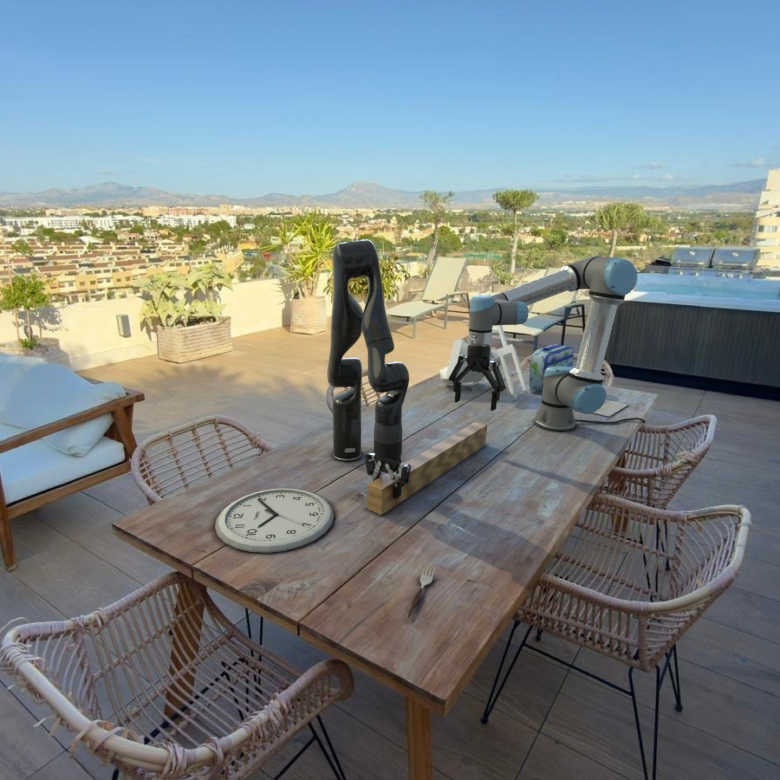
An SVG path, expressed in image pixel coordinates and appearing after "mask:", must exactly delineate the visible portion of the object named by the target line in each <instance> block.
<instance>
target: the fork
mask: <svg viewBox="0 0 780 780" xmlns="http://www.w3.org/2000/svg"><path fill="white" fill-rule="evenodd" d="M426 566H427V568H426ZM429 566H430V564H428V565H427V563H425V565H424V567H423V570H422V573H421V576H420V577H419V578H420V579H419V581H420V584H421V587H420V588H419V589H418V591H417V592H416V594H415V595H414V596H413V600H412V603H411V605H410V609H409V612H408V615H407V618H409V617H410V616H411V615H412V613H413V611H414V609H415V608H416V607H417V605H418V603H419V602H420V600H421V596H422V593H423V590H424V587H425V586H428V585H430V584H432V582H433V580H434V576H435V575H434V574H435V569H436V564H435V565H434V567H433V565H431V566H430V567H429ZM429 568H430V569H429ZM432 568H433V571H432ZM425 570H426V571H425ZM428 572H429V573H428Z"/></svg>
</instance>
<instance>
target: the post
mask: <svg viewBox="0 0 780 780" xmlns="http://www.w3.org/2000/svg"><path fill="white" fill-rule="evenodd" d="M487 430H488V424H486V423H481V422H478V421H474V422H473V423H471V424H469V425H467V426H466V427H464V428H462V429H461V430H459V431H457V432H455V433H453V434H452V435H450V436H449V437H447V438H445V439H443V440H441V441H440V442H438V443H436V444H435V445H433V446H431V447H430V448H428V449H426V450H425V451H422V452H421V453H419V454H418V455H416V456H414V457H413V458H411V459H409V460H407V461H406V462H403V464H406V465H408V464H410V465H411V470H410V476H409V482H408V484H406V485H405V486H403V487H402V491H401V496H400V497H398V498H397V499H395V498H393V487H394V483H393V480H392V479H390V476H389V474H387V473H385V474H383V475H381V476H380V478H378V479H376V480H375V481H373V480H372V481H371V482H369V483H368V484H367V510H368V511H371V512H373V513H375V514H378V515H381V516H382V515H384V514H385V513H387V512H388V511H390V510H392V509H393V508H394V507H396V506H397V505H399V504H401V503H402V502H403V501H406V499H408V498H409V497H411V496H412V495H413V494H416V492H418V491H419V490H422V488H424V487H425V486H427V485H429V484H430V483H432V482H433V481H434V480H436V479H437V478H439V477H440V476H442V475H443V474H444V473H446V472H448V471H450V469H451V470H452V469H453V468H454V467H455V466H456V465H458V464H460V463H461V462H463V461H464V460H466V459H467V458H468V457H470V456H472V455H473V454H475V453H476V452H478V450H481V448H482V449H483V447H485V446H486V443H487V432H488V431H487ZM399 468H400V467H399ZM400 470H401V468H400ZM394 474H396V472H395V473H394ZM397 481H398V480H397Z"/></svg>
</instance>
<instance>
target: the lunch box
mask: <svg viewBox="0 0 780 780" xmlns="http://www.w3.org/2000/svg"><path fill="white" fill-rule="evenodd" d="M530 359H531V360H530V366H529V377H528V379H529V380H528V387H529V390H531V391H536V392H541V393H542V392H543V382H544V374H545V370H546V369H547V368H549V367H556V366H563V367H573V363H574V347H572V346H568V345H562V344H551V345H547V346H545V347H541V348H539V349H536V350H534V352H533V353H532V355H531V358H530Z"/></svg>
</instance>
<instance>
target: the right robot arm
mask: <svg viewBox="0 0 780 780" xmlns="http://www.w3.org/2000/svg"><path fill="white" fill-rule="evenodd" d="M637 282H638V271H637V268H636V267H635V265H634V263H633V262H631V261H630V260H628V259H626V258H621V257H616V256H615V257H612V256H610V257H609V256H600V255H599V256H598V255H594V256H589V257H586V258H583V259H579V260H577V261H575V262H572V263H569V264H567V265H563V266H562V268H561V269H560V270H558V271H555V272H554V273H550V274H548V275H545V276H542V277H540V278H537V279H534V280H531V281H529V282H526V283H523V284H521V285H518V286H516V287H513V288H510V289H507V290H505V291H502V292H499V293H496V294H494V295H490V294H488V295H487V294H486V295H474V296H472V297H471V299H470V304H469V309H468V311H469V317H468V318H469V319H468V334H467V336H468V337H467V345H468V347H467V357H465V355H461V356H459V357H458V362H457V364H456V366H455V367H454V369H453V371H452V373H451V375H450V376H449V380H450V381H452V382H453V383H454V384H452V386H453V388H452V392H453V393H454V403H456V404H457V403H458V402H460V401H461V399H462V397H461V396H462V383H461V382H459V381H460V380H461V379H462V378H463V377H464V376H465V375H466V374H467V373H468V372H469V371H470V370H472V371H473V372H475V371H476V372H479V373H481V372H482V373H483V375H485V377H484V378H486V381H487V382H488V383H489V385H490V386H491V388H492V389H493V390H492V391H491V399H490V411H491V412H494V411H495V410H497V405H498V402H499V401H500V398H501V392H503V391H505V390H507V386H506V383H505V381H504V378H503V375H502V372H501V370H500V366H499V362H498V361H490V351H491V348H492V346H491V344H492V335H493V334H492V333H493V326H494V327H495V326H497V325H502V326H518V325H524V324H525V323H526V322H527V321H528V319H529V312H530V311H529V307H528V306H530V305H533V304H536V303H538V302H540V301H541V302H542V301H543V300H546V299H549V298H551V297H554V296H557V295H560V294H562V293H566V292H569V293H572V292H576V291H579V290H588V295H587V296H588V297H589V299H590V301H591V302H590V306H589V310H588V314H587V318H586V322H585V326H584V330H583V334H582V338H581V342H580V347H579V351H578V356H577V359H576V363H575V367H573V366H572V367H563V366H556V367H549V368H547V369H546V370H545V374H544V382H543V392H541V393H542V394H541V402H540V405H539V407H538V410H537V411H536V413H535V417H534V424H535V425H536V426H537V427H539V428H542V429H544V430H549V431H556V432H567V431H572V430H574V429H575V428H576V422H577V423H588V424H589V423H591V424H604V425H605V424H607V425H612V424H619V423H621V422H625V421H641V422H643V423H647V422H646V421H645V420H644V419H643V418H641V417H630V418H629V417H628V418H622V419H619V420H616V421H601V420H585V419H576V418H575V417H576V416H575V413H574V412H577V413H580V414H583V415H590V414H595V413H594V412H595V411H596V410H598V409H600V408H601V407H602V405H603V404H604V402H605V400H607V391H606V389H605V388H604V386H603V383H604V379H605V378H604V376H603V375H602V373H601V372H602V368H603V365H604V360H605V356H606V352H607V350H608V349H607V348H608V345H609V341H610V337H611V333H612V329H613V325H614V323H615V322H614V321H615V318H616V313H617V310H618V306H619V305H620V304H621V303H624V301H625V299H626V296H627V295H628V294H630V293H632V291H633V290H635V288H636V286H637V284H638V283H637ZM465 361H466V362H467V364H468V366H467V367H466V368H465V369H464V370H463V371H462V372H461V373H460V374H459V375H458V376H457V374H458V372H459V370H460V368H461V367H462V365H463V363H464V362H465ZM489 365H491V368H492V370H493V371H492V372H491V370H490V369H489V367H488V366H489ZM456 376H457V377H456ZM455 377H456V378H455Z"/></svg>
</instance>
